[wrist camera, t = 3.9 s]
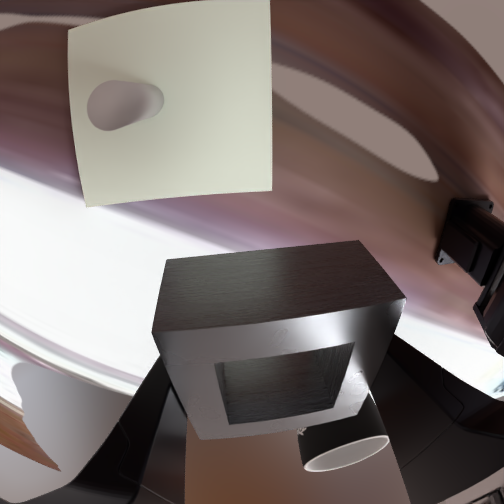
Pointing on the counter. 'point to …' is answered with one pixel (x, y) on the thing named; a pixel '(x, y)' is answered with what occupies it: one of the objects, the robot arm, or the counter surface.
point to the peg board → (173, 101)
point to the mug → (343, 439)
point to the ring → (274, 335)
